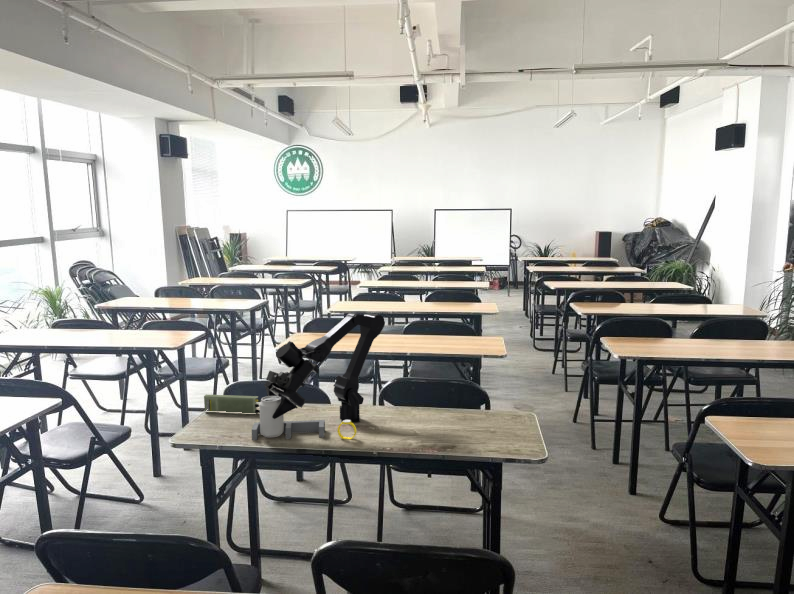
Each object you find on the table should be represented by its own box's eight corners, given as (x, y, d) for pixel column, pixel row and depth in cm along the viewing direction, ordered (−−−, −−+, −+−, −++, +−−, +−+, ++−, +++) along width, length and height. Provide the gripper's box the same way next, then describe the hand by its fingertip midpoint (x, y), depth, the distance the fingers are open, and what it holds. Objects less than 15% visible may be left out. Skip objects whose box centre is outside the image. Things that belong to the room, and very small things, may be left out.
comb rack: (324, 429, 193) (324, 418, 193) (325, 437, 186) (324, 424, 186) (254, 432, 190) (254, 420, 190) (251, 440, 183) (251, 427, 183)
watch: (337, 440, 184) (335, 422, 184) (340, 437, 187) (338, 419, 187) (355, 440, 183) (353, 422, 183) (357, 437, 186) (356, 419, 185)
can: (255, 435, 184) (254, 399, 183) (271, 428, 191) (270, 393, 189) (272, 439, 180) (271, 402, 179) (289, 432, 187) (288, 396, 185)
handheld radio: (207, 410, 215) (272, 413, 212) (203, 413, 212) (269, 416, 208) (206, 393, 214) (271, 396, 211) (202, 396, 211) (268, 399, 207)
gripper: (268, 356, 193) (238, 394, 187) (295, 366, 178) (263, 408, 173) (290, 375, 198) (261, 413, 193) (318, 386, 184) (287, 427, 178)
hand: (267, 415), depth 184 cm, fingers closed on can, 7 cm apart
